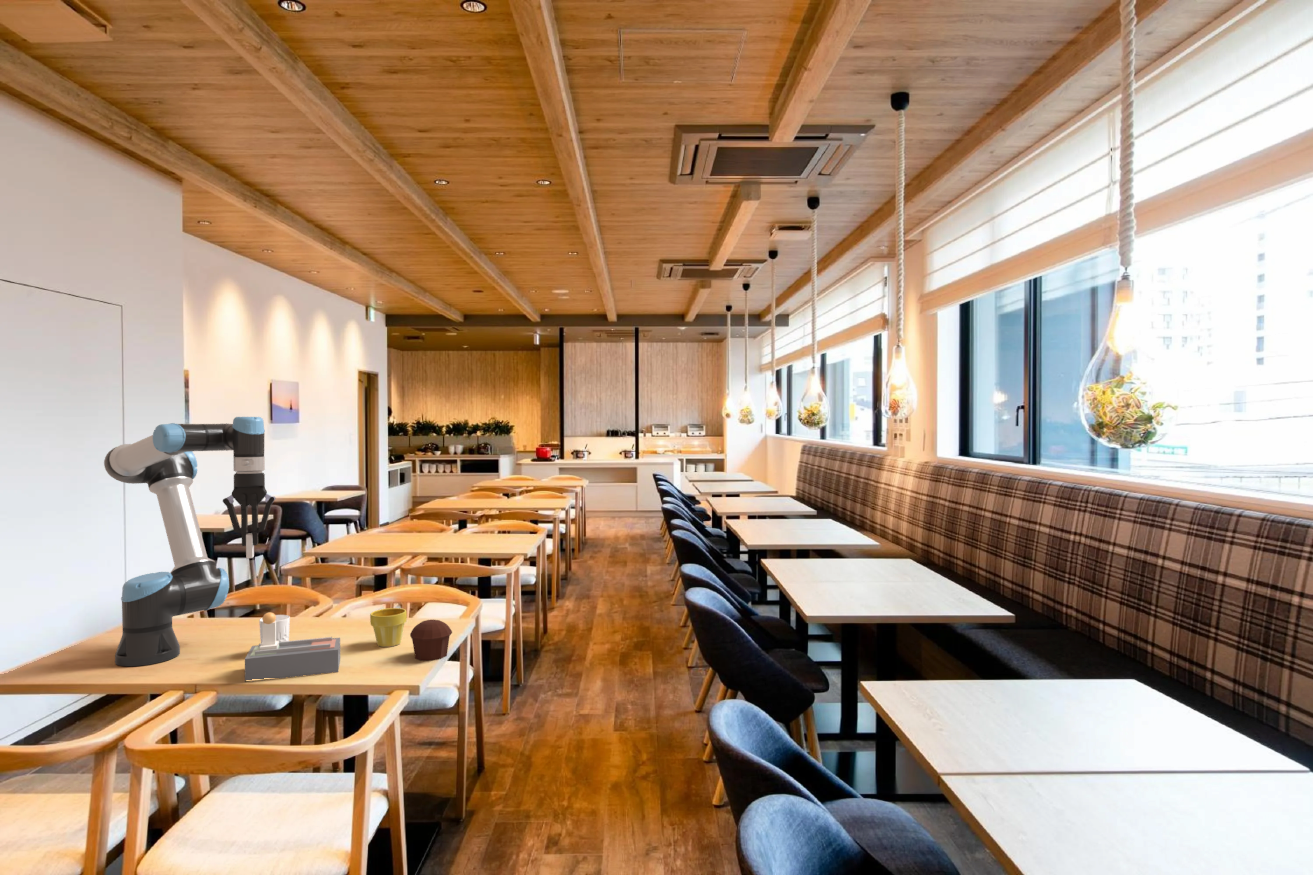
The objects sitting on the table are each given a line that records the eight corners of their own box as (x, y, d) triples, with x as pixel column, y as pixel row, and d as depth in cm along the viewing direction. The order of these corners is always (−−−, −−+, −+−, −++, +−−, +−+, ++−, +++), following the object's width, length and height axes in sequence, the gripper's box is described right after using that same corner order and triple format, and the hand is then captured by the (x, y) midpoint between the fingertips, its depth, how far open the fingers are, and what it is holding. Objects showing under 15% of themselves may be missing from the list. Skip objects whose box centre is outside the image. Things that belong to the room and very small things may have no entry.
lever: (262, 646, 198) (262, 610, 198) (279, 644, 199) (278, 609, 199) (259, 651, 193) (259, 615, 193) (276, 650, 195) (276, 613, 194)
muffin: (401, 659, 207) (401, 624, 207) (426, 648, 218) (426, 614, 217) (436, 664, 203) (436, 628, 203) (460, 652, 213) (460, 618, 213)
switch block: (252, 667, 200) (252, 642, 200) (340, 658, 208) (340, 633, 208) (244, 682, 189) (244, 655, 189) (338, 671, 197) (337, 645, 197)
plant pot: (364, 644, 222) (363, 611, 221) (396, 637, 229) (396, 605, 229) (380, 651, 215) (380, 618, 214) (413, 643, 222) (413, 611, 222)
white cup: (295, 648, 217) (295, 614, 217) (279, 657, 209) (279, 622, 209) (270, 648, 218) (270, 614, 218) (253, 656, 210) (253, 621, 210)
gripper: (219, 473, 198) (220, 561, 198) (273, 472, 202) (274, 558, 203) (224, 472, 205) (225, 556, 205) (277, 470, 209) (278, 553, 210)
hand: (250, 557), depth 204 cm, fingers closed
